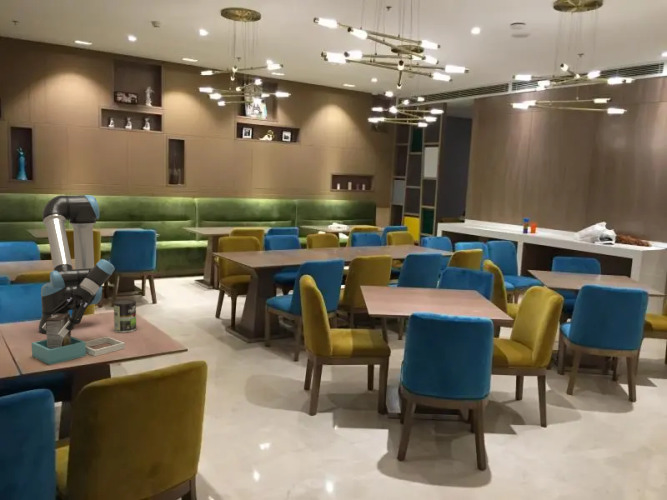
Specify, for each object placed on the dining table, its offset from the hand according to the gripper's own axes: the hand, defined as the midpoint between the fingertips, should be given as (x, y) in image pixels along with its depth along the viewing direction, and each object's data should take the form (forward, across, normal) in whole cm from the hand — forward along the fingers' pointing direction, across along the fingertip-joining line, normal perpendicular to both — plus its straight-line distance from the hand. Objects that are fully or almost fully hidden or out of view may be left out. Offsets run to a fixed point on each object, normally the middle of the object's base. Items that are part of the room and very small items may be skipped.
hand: (52, 332), depth 230 cm
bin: (+6, 0, -9) cm, 11 cm away
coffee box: (+5, 0, -9) cm, 10 cm away
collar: (-6, -4, -21) cm, 22 cm away
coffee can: (-22, +14, -37) cm, 45 cm away
